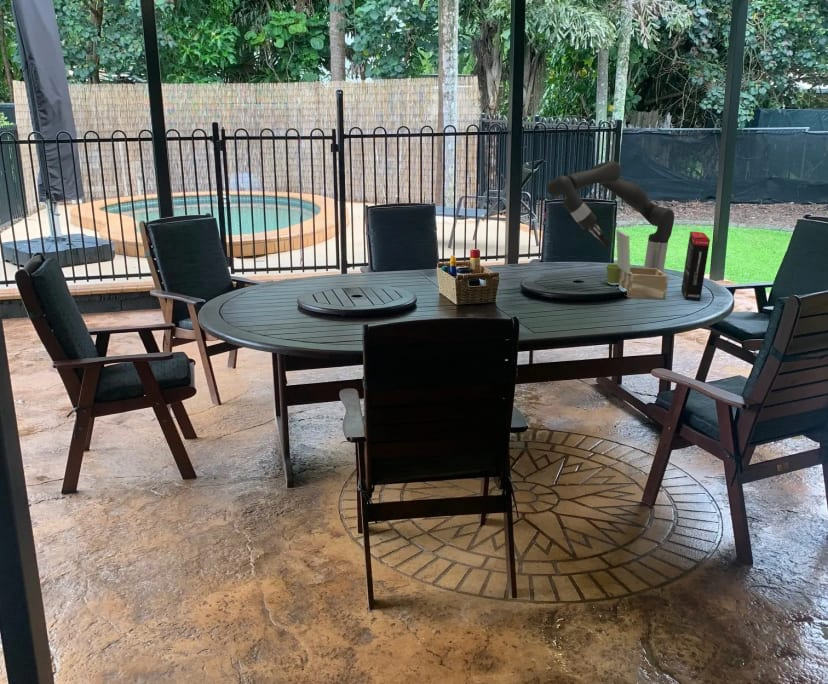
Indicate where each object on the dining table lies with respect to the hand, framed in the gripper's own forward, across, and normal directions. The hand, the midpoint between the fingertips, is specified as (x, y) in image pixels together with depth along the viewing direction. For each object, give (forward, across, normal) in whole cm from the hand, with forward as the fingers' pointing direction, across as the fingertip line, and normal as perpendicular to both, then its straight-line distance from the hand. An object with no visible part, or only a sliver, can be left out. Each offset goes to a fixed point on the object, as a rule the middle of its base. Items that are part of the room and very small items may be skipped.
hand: (607, 245), depth 334 cm
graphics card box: (+42, -2, -13) cm, 44 cm away
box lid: (+6, -3, -3) cm, 8 cm away
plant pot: (+20, +12, +8) cm, 25 cm away
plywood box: (+26, -3, +2) cm, 26 cm away
